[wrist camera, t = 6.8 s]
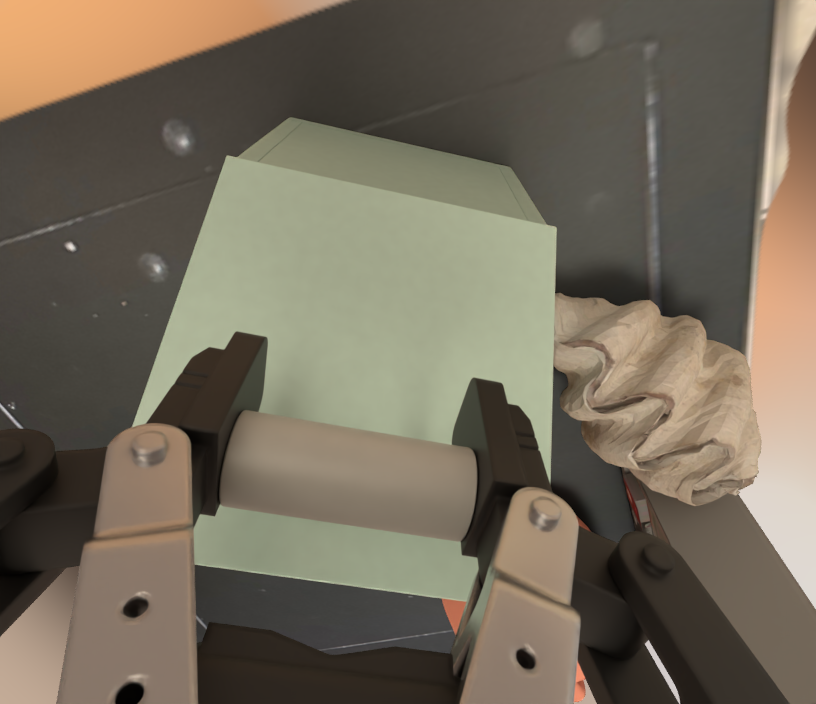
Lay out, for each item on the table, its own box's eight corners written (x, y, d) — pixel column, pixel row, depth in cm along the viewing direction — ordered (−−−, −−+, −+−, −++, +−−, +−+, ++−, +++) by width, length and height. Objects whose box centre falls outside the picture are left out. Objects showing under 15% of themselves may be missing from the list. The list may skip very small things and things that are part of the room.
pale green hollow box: (454, 348, 34) (465, 451, 26) (274, 314, 33) (226, 411, 25) (511, 166, 28) (550, 228, 20) (289, 116, 27) (232, 159, 18)
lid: (536, 610, 15) (647, 640, 10) (101, 549, 13) (-27, 549, 8) (548, 238, 20) (626, 133, 15) (230, 170, 18) (197, 30, 13)
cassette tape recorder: (613, 449, 39) (835, 943, 18) (696, 428, 38) (1040, 935, 17) (637, 554, 46) (819, 998, 25) (708, 539, 45) (962, 994, 24)
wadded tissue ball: (577, 445, 39) (621, 561, 31) (513, 285, 32) (547, 379, 23) (718, 401, 36) (807, 514, 28) (683, 215, 29) (790, 295, 21)
